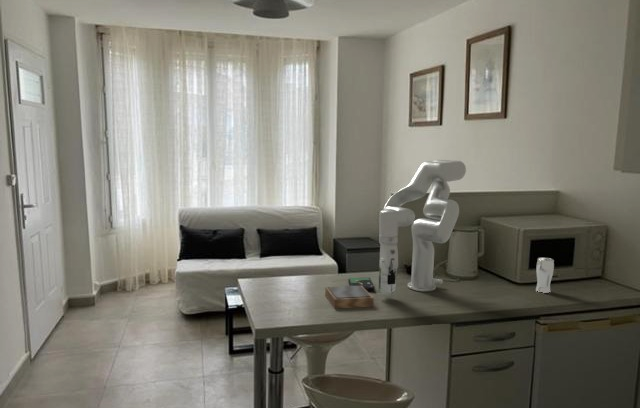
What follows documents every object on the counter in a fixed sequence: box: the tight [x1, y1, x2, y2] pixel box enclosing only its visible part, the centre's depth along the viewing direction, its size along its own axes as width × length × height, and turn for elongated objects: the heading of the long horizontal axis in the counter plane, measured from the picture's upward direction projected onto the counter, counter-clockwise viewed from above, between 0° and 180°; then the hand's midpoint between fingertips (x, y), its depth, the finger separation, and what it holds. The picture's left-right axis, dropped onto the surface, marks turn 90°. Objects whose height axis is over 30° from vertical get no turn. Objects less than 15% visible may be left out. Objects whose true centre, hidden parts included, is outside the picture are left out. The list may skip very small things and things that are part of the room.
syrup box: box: [377, 258, 398, 295], centre depth 196 cm, size 6×6×14 cm
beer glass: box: [535, 257, 555, 294], centre depth 212 cm, size 7×7×15 cm
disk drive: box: [347, 277, 376, 293], centre depth 213 cm, size 10×3×15 cm
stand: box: [324, 285, 375, 309], centre depth 193 cm, size 16×16×4 cm
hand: (387, 280), depth 196 cm, fingers closed on syrup box, 7 cm apart
